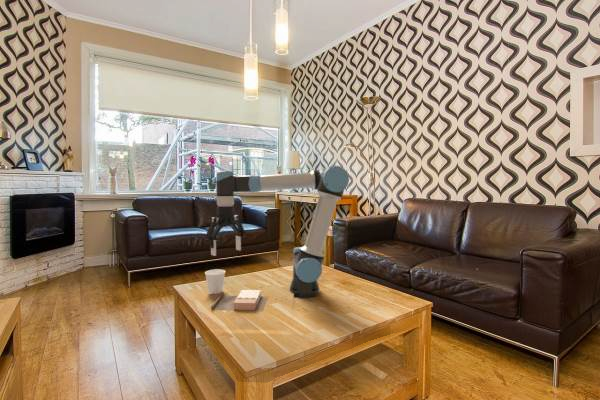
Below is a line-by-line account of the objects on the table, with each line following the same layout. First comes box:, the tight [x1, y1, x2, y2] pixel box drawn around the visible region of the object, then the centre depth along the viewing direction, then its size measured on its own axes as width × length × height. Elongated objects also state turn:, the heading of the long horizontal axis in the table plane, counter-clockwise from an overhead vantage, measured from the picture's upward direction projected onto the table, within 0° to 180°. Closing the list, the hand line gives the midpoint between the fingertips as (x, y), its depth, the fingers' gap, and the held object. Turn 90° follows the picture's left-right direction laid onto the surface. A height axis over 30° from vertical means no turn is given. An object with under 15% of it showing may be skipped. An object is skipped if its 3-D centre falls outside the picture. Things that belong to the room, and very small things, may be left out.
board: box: [210, 291, 269, 312], centre depth 143 cm, size 22×17×3 cm
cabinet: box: [233, 298, 257, 311], centre depth 137 cm, size 9×5×3 cm, turn 88°
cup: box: [204, 268, 226, 296], centre depth 157 cm, size 10×10×11 cm
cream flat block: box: [237, 289, 262, 304], centre depth 146 cm, size 9×11×3 cm
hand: (226, 252), depth 144 cm, fingers open, 13 cm apart
